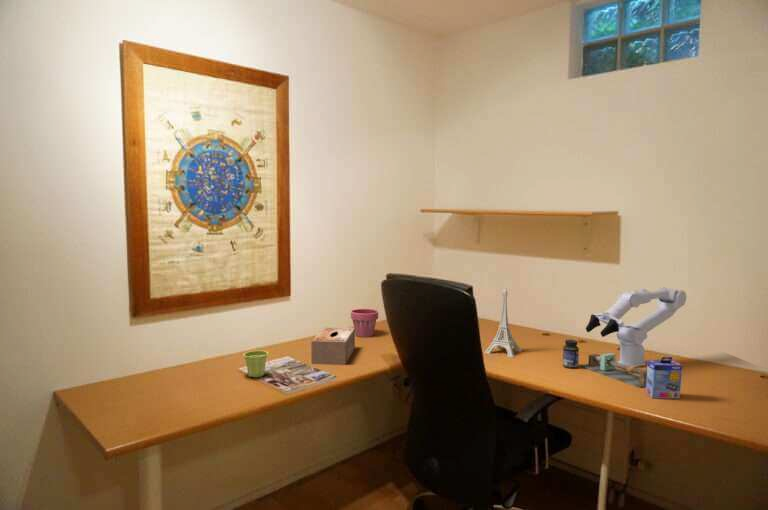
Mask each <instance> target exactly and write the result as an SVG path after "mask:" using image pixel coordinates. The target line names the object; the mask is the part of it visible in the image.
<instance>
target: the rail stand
mask: <svg viewBox="0 0 768 510" xmlns="http://www.w3.org/2000/svg"><path fill="white" fill-rule="evenodd" d="M600 364H601V354H598V353H593V354H592V353H591V354H588V362H587V364H582V365H580V367H581V368H583V369H586V370H590V371H592V372H594V373H597V374H600V375H603V376H606V377H608V378H611V379H614V380H617V381H620V382H623V383H625V384H629V385H631V386H634V387H637V388H640V389H641V388H646V381H647V369H644V370H643V369H641V368H638V367H633V366H630V365H629V366H628V365H625V364H621V363H618V362H616V360H615V361H612V360H609V359H607V365H611V366H614V367H615V369H611V370H605V371H604V370H601V369H600Z"/></svg>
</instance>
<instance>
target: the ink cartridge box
mask: <svg viewBox="0 0 768 510" xmlns="http://www.w3.org/2000/svg"><path fill="white" fill-rule="evenodd" d="M646 365H647V367H646V370H647V381H646V387H645V393H646V394H647V395H648V396H649V397H650V398H652V399H677V400H678V399H679V400H680V397H681V396H680V395H681V386H682V385H681V384H682V373H683V365H682V364H681V363H679V362H677V361H676V360H673V356H662V357H661V358H660V360H659V359H656V360H655V359H653V360H650V359H649V360H647V364H646Z"/></svg>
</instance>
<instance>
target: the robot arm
mask: <svg viewBox="0 0 768 510" xmlns="http://www.w3.org/2000/svg"><path fill="white" fill-rule="evenodd" d="M656 299H657V307H658V308H657V309H655V310H654V311H653V312H651V313H650V314H648V315H646V316H645V317H644V318H642V319H640V320H639V321H637V322H636V323H635V322H634V323H630V324H629V323H628V324H626V325H625V323H624V321H623V320H621V319H622V318H623V316H625V315H626V314H628V312H630V310H631V309H632V308H638V307H639V306H640V305H644V304H645V305H646V304H648V303H650V302H651V301H652V300H656ZM686 301H687V294H686V291H685V290H682V289H673V288H667V287H659V288H657V289H653V290H650V291H649V290H648V289H646V288H640V290H632V291H631V292H629V291H624V292H621V293H620V294H619V296H618V299H617V300H616V302H614V304H613V305H611V306H610V307H609V308H608V309H607V310H606V311H605V310H604V311H603V312H601V313H592V314H591V315H590V318H589V322H588V323H587V325H586V327H585V330H586V332H587V333H590V332H591V331H593V330H594V329H595V328H598V327H601V325H602V324H601V323H600V321H601V322H602V323H604V324H606V325H605V326H604V328H603V329H601V330H600V333H599V334H600V336H601V337H602V338H604V337H606V336H608V335H611V334H613V333H615V334H616V335H615V336H616V338H617V339H618V342H619V343H620V348H619V360H617V361H616V360H615V362H618V363H621V364H625V365H628V366H629V365H630V366H633V367H636V368H638V367H641V366H646V365H647V364H646V363H645V352H646V351H645V347H644V345H643V342H644V341H645V340H646V339H648V332H650V331H652V330H653V329H654V328H656V327H658V326H660V325H661V324H662V323H664V322H666V321H667V320H669V319H670V318H672V317H673V316H674V315H675V313H676V312H677V311H678V310H679V309H680V308H682V307H683V306H685V304H686Z"/></svg>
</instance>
